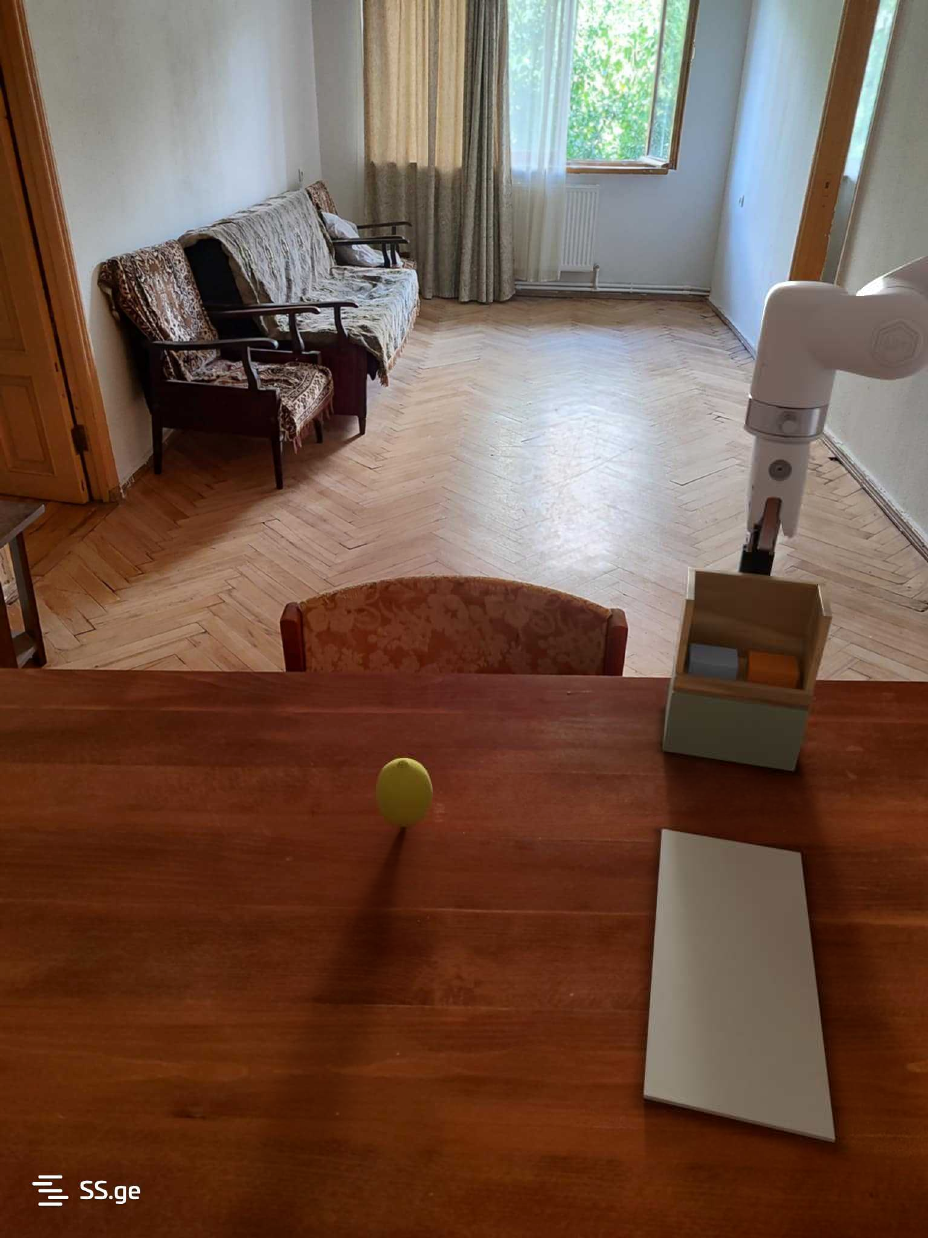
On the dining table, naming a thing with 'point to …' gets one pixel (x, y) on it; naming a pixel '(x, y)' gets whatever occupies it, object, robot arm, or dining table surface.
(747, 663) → the packet orange
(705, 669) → the packet blue
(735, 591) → the wooden open box
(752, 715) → the grey open box
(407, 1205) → the dining table surface
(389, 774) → the lemon
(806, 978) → the mat
